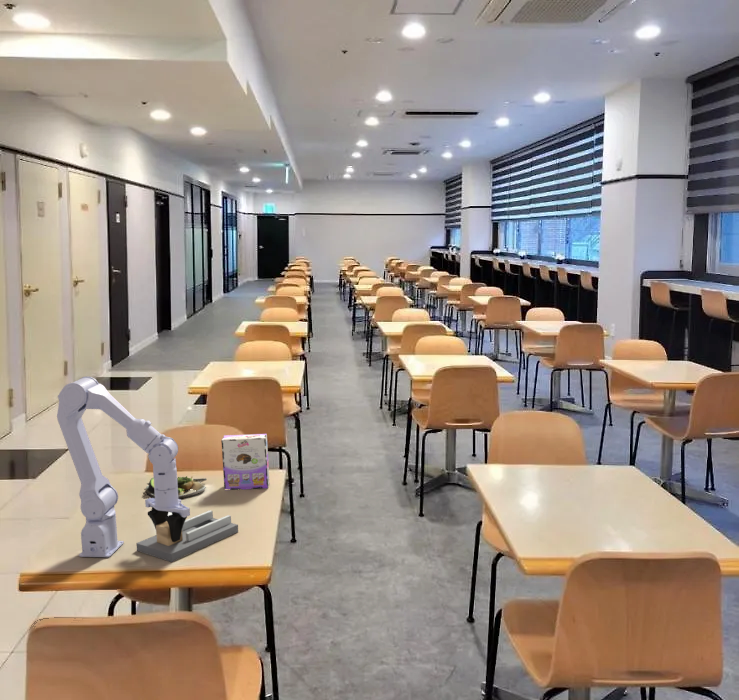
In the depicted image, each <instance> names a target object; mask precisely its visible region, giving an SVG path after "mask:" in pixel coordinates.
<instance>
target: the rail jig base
mask: <svg viewBox="0 0 739 700" xmlns="http://www.w3.org/2000/svg"><path fill="white" fill-rule="evenodd" d="M213 511H214V510H210V509H209V510H207V511H205V512H202V513H200V514H197V515H195V516H193V517H190V518H186V520H185V522H184V525H183V528H182V537H183V540H182V541H179V542H177V543H175V544H172V545H170V546H167V545H164V544H161V543H158V542H157V535H152V536H150V537H148V538H146V539H143V540H140V541H138V542H136V545H135V546H136V551H137V552H140V553H143V554H146V555H149V556H152V557H155V558H158V559H160V560H165V561H167V562H170V563H172V562H175V561H177V560H179V559H181V558H183V557H186V556H187V555H190V554H192V553H194V552H196V550H197V551H199V550H202V549H203V547H204V548H205V546H206V547H208V546H210V545H212V544H214V542H215V543H216V541H217V542H219V541H221V540H223V539H226V538H228V537H230V536H232V535H235V534H237V533H238V532H239V524H236V523H234V522H232V515H229V514H227V515H226V516H221V517H220V518H214V514H213ZM209 544H210V545H209ZM207 545H208V546H207ZM198 549H199V550H198Z"/></svg>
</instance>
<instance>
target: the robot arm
mask: <svg viewBox="0 0 739 700" xmlns="http://www.w3.org/2000/svg"><path fill="white" fill-rule="evenodd" d="M57 399H58V406H57V407H58V408H57V415H56V417H57V418H56V419H57V422H58V424H59V428H60V431H61V433H62V436H63V439H64V441H65V445H66V446H67V449H68V451H69V454H70V457H71V460H72V463H73V464H74V468H75V470H76V474H77V475H78V476H77V477H78V480H79V481H80V488H79V493H78V495H79V499H80V512H81V514H82V515H83V516H84V517H85V524H84V526H83V528H82V529H81V532H80V539H81V550H82V551H81V552H80V553H79V554H78V556H79V557H80V558H83V557H84V558H110V557H112V555H114V553H115V552H116V551H117V550H118V549H119V548H121V546H122V545H123V544H124V543H125V541H124V540H118V529H117V528H118V527H117V516H116V515H117V513H116V512H117V511H116V509H115V506H116V505H117V503H118V500H119V494H118V491H117V489H116V488H115V487H114V486H112V484H111V482H110V480H109V478H108V477H106V476H105V475H103V473H102V470H101V467H100V464H99V463H98V462H99V461H98V460H97V456H96V454H95V450H94V448H93V446H92V443H91V441H90V437H89V435H88V432H87V428H86V427H85V424H84V422H83V419H82V418H83V415H84V413H85V412H86V410H101V411H102V412H103V413H104V414H106V415H107V416H109V417H110V418H111V419H113V420H114V421H115V422H117V423H118V424H119V425H120V426H122V427H123V428H125V430H126V436H127V437H128V438H129V439H130V440H131V441H132V442H134V444H136V445H137V446H138V447H139V448H140V449H142V451H144V452H145V453H147V454H148V456H147V457H148V459H149V462H150V463H151V464H152V473H153V475H152V476H153V478H154V492H155V498H151V497H149V498H146V499H145V501H144V502H145V503H144V505H145V507H146V508H151V509H150V510H148V511H147V516H148V517H149V519H150V520H151V522H152V524H153V526H154V528H155V530H156V525H158V524H160V523H163V522H166V521H167V522H168V525H169V528H170V534H171V540H172V542H176V541H178V540H180V537H181V532H182V528H183V525H184V522H185V520H187V519H188V517H189V516H191V510H190V509H191V508H190V507H188V506H186V505H184V504H183V503H182V499H178V483H177V478H178V471H177V470H178V469H177V460H176V457H177V455H178V453H179V445H178V443H177V442H176V441H175V439H174V438H173V437H169V436H166V435H165V434H164V433H160V432H159V430H157V429H156V428H155V427H154V426H152V424H153V423H152V422H151V421H150V420H149V419H144V418H136V417H135V416H134V415H133V414H131V412H129V410H127V409H126V407H124V406H123V405H122V404H121V402H119V401H118V400H117V399H116V398H115V397H114V396H113V395H112V394H111V393H110V392H109V391H108V390H107V388H106V387H105V386H104V385H103V384H102V383H99V382H98V380H97V379H96V378H94V377H92V376H82V377H81V378H79V379H77V380H75V381H73V382H70V383H68V384H67V383H66V384H65V385H64V386H63V388H62V389H61V390H60V392H59V394H58V395H57ZM169 513H171V514H170V515H169Z"/></svg>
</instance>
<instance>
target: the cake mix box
mask: <svg viewBox="0 0 739 700" xmlns="http://www.w3.org/2000/svg"><path fill="white" fill-rule="evenodd" d="M220 442H221V456H222V470H223V490H224V489H230V490H229V491H235V490H236V491H240V489H242V490H259V489H261V490H265V489H269V486H270V468H269V467H270V466H269V462H270V461H269V451H268V450H269V449H268V448H269V447H268V446H269V445H268V435H267V433H252V434H227V435H226V434H223V437H222V439H221V441H220ZM238 489H239V490H238Z"/></svg>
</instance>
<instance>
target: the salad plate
mask: <svg viewBox="0 0 739 700" xmlns="http://www.w3.org/2000/svg"><path fill="white" fill-rule="evenodd" d="M205 481H207V478H206V477H205V478H204V477H203V478H193V476H190V477H188V475H187V476H177V483H178V499H180V500H182V499H185V497H186V498H188V497H189V496H190V497H193V496H195V495H196V496H197V495H198V493H199V494H200V493H202V492H204V491H205V490H206V489H207V486H206V485H205V484H203V482H205ZM146 485H147V486H146V487H145V490H144V491H145V492H146V494H147V496H149V498H151V497H152V498H155V492H154V477H152V478H150V479H149V482H148V483H146ZM190 489H193V490H192V492H190V493H185V492H184V491H186V492H188V491H187V490H189V491H191V490H190ZM195 490H196V492H195ZM184 493H185V494H184ZM190 497H189V498H190Z"/></svg>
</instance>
